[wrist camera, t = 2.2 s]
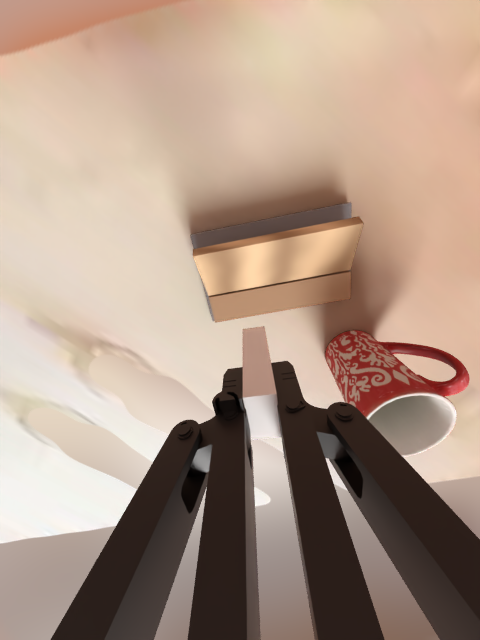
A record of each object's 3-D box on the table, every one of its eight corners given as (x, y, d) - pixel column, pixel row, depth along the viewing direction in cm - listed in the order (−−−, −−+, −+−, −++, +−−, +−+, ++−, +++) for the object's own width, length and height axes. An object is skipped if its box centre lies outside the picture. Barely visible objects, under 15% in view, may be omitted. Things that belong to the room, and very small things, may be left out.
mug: (333, 385, 38) (379, 470, 26) (307, 344, 35) (346, 419, 22) (412, 347, 35) (506, 422, 23) (392, 299, 32) (490, 356, 20)
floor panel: (213, 318, 33) (211, 325, 31) (191, 234, 28) (188, 236, 26) (347, 294, 31) (354, 300, 29) (347, 202, 27) (356, 202, 25)
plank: (208, 288, 30) (208, 295, 29) (193, 249, 25) (193, 256, 24) (346, 263, 29) (350, 269, 28) (358, 216, 24) (363, 223, 23)
